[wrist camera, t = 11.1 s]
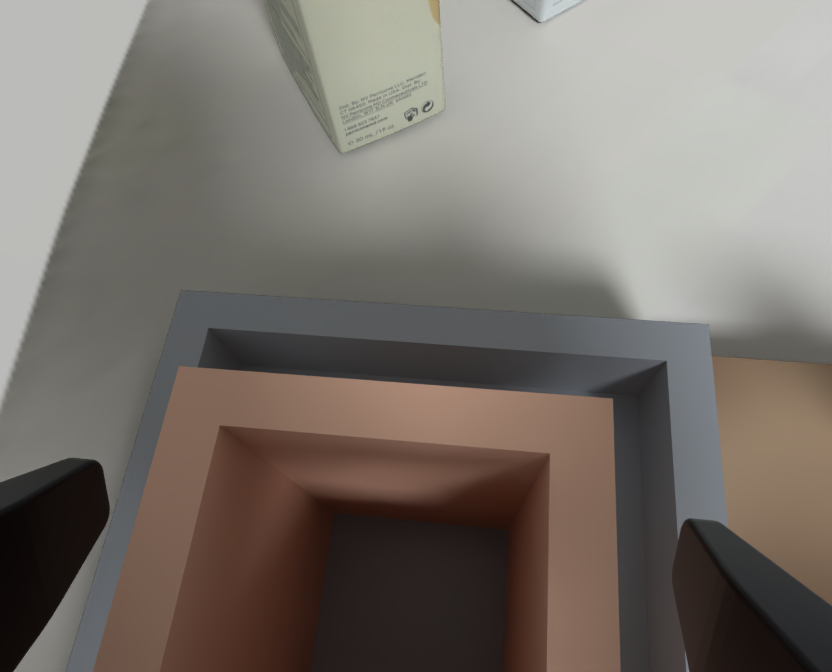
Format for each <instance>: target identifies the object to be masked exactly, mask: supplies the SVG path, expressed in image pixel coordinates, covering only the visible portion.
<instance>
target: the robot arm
mask: <svg viewBox="0 0 832 672" xmlns="http://www.w3.org/2000/svg"><path fill="white" fill-rule="evenodd" d="M109 511H110V506H109V500H108V495H107V489H106V484H105V478H104V473H103V469H102V466H101V465H100V463H99V462H97V461H96V460H90V459H80V458H68V459H65V460H62V461H59V462H56V463H53V464H51V465H48V466H45V467H42V468H40V469H37V470H34V471H31V472H28V473H26V474H23V475H20V476H17V477H15V478H12V479H9V480H6V481H3V482H1V483H0V672H13V671H14V670H15V668H16V667H17V666H18V664H19V663H20V661H21V660H22V659H23V657H24V656H25V654H26V653H27V652H28V650H29V649H30V647H31V646H32V645H33V643H34V642H35V640H36V639H37V638H38V636H39V635H40V633H41V632H42V630H43V629H44V628H45V626H46V625H47V623H48V622H49V620H50V619H51V617H52V615H53V614H54V612H55V611H56V609H57V607H58V606H59V604H60V603H61V601H62V599H63V598H64V596H65V594H66V592H67V591H68V589H69V587H70V585H71V584H72V582H73V580H74V579H75V577H76V575H77V573H78V572H79V570H80V568H81V567H82V565H83V563H84V561H85V560H86V558H87V556H88V555H89V553H90V551H91V549H92V548H93V546H94V544H95V543H96V541H97V539H98V537H99V536H100V534H101V532H102V531H103V529H104V527H105V525H106V523H107V520H108V517H109ZM672 586H673V592H674V597H675V602H676V607H677V612H678V617H679V622H680V627H681V632H682V637H683V642H684V647H685V652H686V657H687V662H688V667H689V672H832V605H831V604H829V603H828V602H826V601H825V600H824V599H822V598H821V597H820V596H818V595H817V594H816V593H814V592H813V591H812V590H810V589H809V588H808V587H806V586H805V585H804V584H802V583H801V582H800V581H798V580H797V579H796V578H794V577H793V576H792V575H790V574H789V573H788V572H786V571H785V570H784V569H782V568H781V567H780V566H778V565H777V564H775V563H774V562H773V561H771V560H770V559H769V558H767V557H766V556H765V555H763V554H762V553H761V552H759V551H758V550H757V549H755V548H754V547H753V546H751V545H750V544H749V543H747V542H746V541H745V540H743V539H742V538H741V537H739V536H738V535H737V534H735V533H734V532H733V531H731V530H730V529H729V528H727V527H726V526H724V525H723V524H722V523H720V522H718V521H715V520H704V519H693V518H688V519H687V520H685V521H684V522H683V524H682V526H681V530H680V534H679V539H678V544H677V548H676V553H675V557H674V562H673V567H672Z"/></svg>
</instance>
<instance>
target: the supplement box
mask: <svg viewBox="0 0 832 672" xmlns="http://www.w3.org/2000/svg"><path fill="white" fill-rule="evenodd" d="M513 1H515V2H516V3H517V4H518V5H519V6H521V7H522V8H523V9H524V10H526V11H527V12H528V13H529V14H530V15H531V16H533V17H534V18H535V19H536V20H537V21H539V22H544V21H546V20H548V19H550V18H552V17H554V16H555V15H557V14H559V13H561V12H563V11H565V10H567V9H568V8H570V7H572V6H574V5H575V4H577V3H579V2H581V1H583V0H513Z"/></svg>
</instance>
